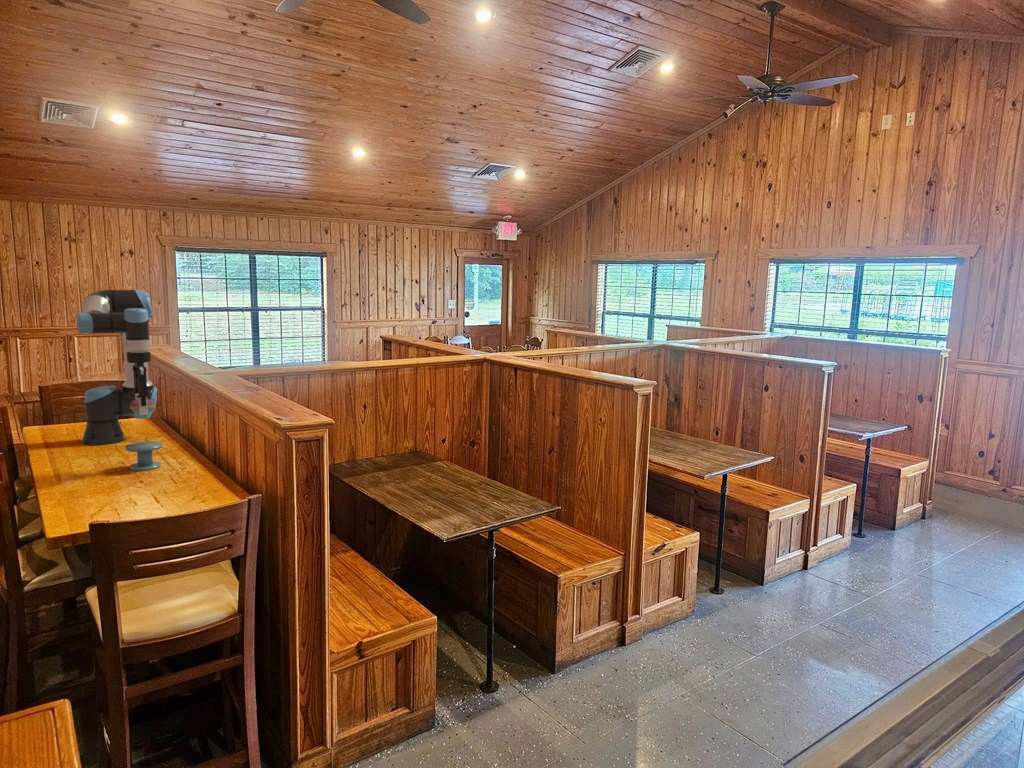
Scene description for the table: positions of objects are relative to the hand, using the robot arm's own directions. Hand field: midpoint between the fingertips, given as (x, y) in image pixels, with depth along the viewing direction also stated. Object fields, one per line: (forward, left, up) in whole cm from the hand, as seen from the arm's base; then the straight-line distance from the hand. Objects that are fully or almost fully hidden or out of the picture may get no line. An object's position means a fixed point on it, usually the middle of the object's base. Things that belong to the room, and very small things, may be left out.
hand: (142, 412), depth 239 cm
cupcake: (0, 0, -2) cm, 2 cm away
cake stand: (0, 0, -21) cm, 21 cm away
